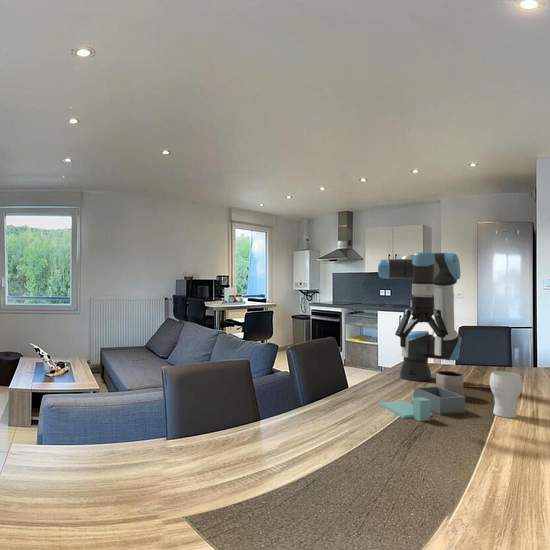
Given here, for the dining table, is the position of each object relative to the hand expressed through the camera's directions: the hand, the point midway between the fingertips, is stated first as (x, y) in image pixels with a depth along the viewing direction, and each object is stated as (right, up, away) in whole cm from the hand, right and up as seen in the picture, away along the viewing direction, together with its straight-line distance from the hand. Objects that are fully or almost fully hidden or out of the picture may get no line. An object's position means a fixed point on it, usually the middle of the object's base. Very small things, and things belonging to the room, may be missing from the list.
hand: (421, 355), depth 157 cm
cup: (+33, -23, +6) cm, 40 cm away
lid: (-3, -22, +6) cm, 23 cm away
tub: (+11, -22, +13) cm, 28 cm away
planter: (+22, -23, +31) cm, 44 cm away
